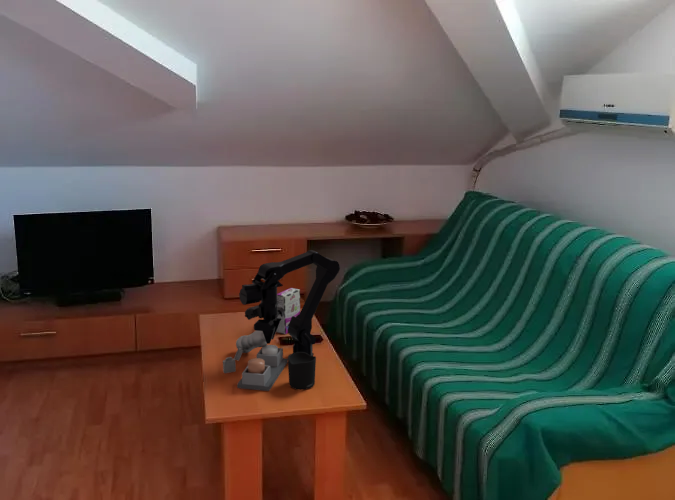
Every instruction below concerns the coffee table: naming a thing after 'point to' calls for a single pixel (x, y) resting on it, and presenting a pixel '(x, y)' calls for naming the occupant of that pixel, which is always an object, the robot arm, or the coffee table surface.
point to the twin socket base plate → (270, 375)
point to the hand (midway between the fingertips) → (270, 341)
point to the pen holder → (301, 370)
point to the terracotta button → (256, 366)
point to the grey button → (270, 350)
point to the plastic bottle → (251, 341)
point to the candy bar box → (288, 307)
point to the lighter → (231, 362)
